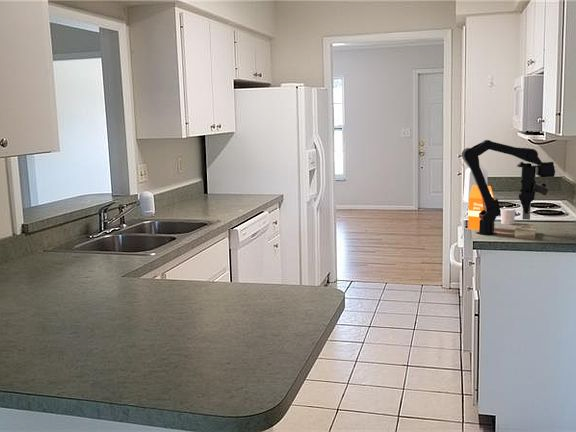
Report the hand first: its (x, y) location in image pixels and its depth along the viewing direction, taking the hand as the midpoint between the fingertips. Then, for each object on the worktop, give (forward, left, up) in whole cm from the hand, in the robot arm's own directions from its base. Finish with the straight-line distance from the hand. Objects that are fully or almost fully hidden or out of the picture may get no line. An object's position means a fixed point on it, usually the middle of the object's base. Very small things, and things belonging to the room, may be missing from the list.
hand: (526, 213), depth 276 cm
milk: (+71, +80, -9) cm, 107 cm away
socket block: (-3, -2, -9) cm, 10 cm away
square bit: (0, 0, -3) cm, 2 cm away
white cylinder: (+18, +21, -9) cm, 29 cm away
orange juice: (-3, +21, -9) cm, 23 cm away
